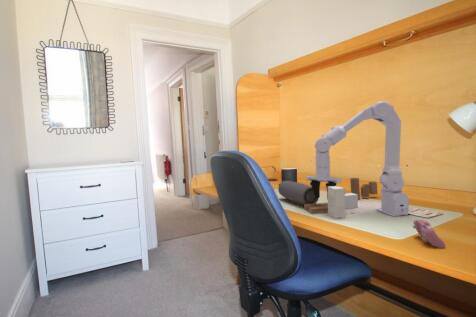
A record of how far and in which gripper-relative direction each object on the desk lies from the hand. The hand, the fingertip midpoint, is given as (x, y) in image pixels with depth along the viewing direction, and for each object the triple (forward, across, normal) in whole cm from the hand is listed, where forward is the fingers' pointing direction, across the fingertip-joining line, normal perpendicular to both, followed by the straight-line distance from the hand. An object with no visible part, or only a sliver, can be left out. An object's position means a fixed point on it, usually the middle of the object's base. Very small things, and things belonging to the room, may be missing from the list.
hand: (323, 198), depth 113 cm
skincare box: (+6, -8, +6) cm, 11 cm away
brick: (+6, -6, -11) cm, 13 cm away
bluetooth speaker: (+6, +16, -6) cm, 19 cm away
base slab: (+5, 0, 0) cm, 5 cm away
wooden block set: (+6, -3, -32) cm, 32 cm away
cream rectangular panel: (+5, -10, -2) cm, 12 cm away
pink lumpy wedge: (+6, -39, +14) cm, 42 cm away
